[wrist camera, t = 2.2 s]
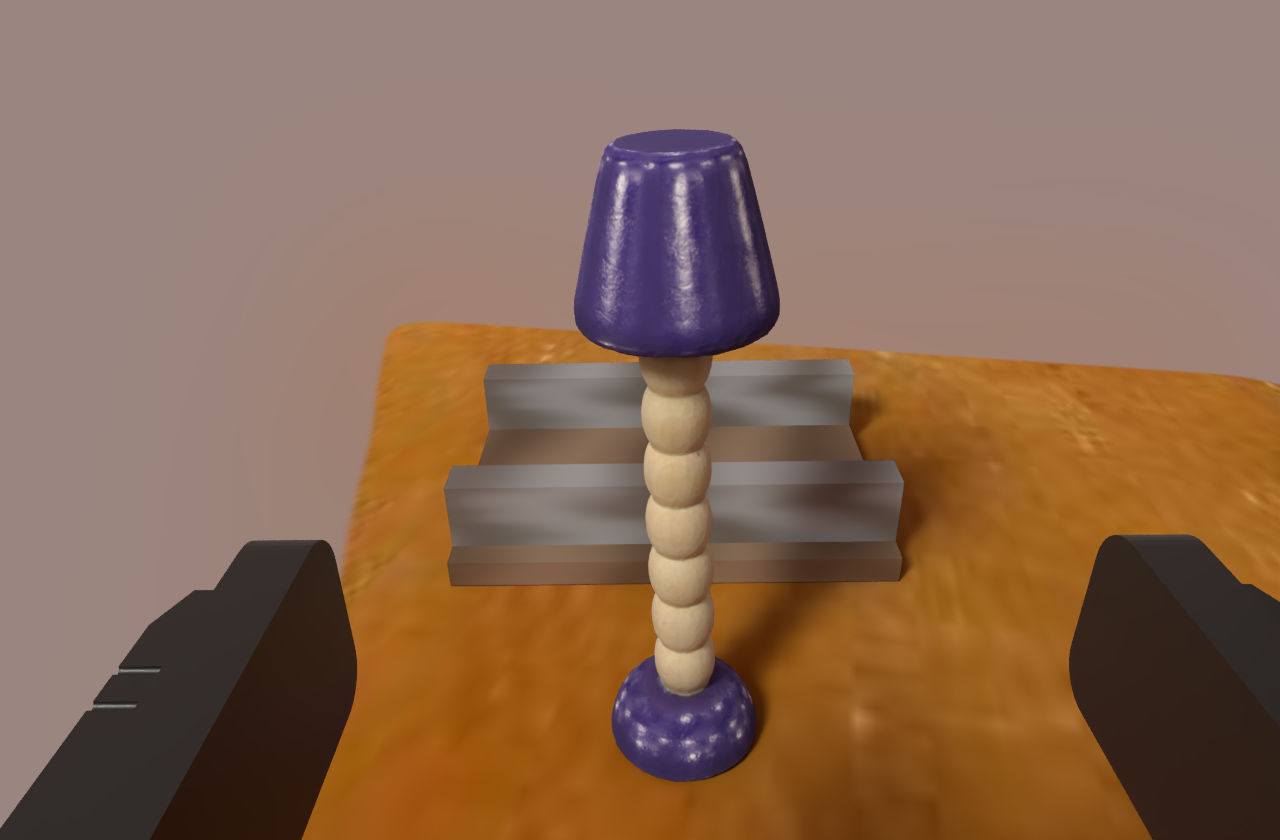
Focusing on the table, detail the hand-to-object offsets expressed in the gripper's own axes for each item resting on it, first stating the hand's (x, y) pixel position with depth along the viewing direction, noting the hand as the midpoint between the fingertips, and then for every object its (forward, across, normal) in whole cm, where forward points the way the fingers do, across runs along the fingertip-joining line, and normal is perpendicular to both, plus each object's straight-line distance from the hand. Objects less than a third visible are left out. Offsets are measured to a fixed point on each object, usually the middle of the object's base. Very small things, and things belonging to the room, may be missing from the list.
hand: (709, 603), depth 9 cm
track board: (+24, 0, +14) cm, 27 cm away
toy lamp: (+12, 0, +14) cm, 18 cm away
